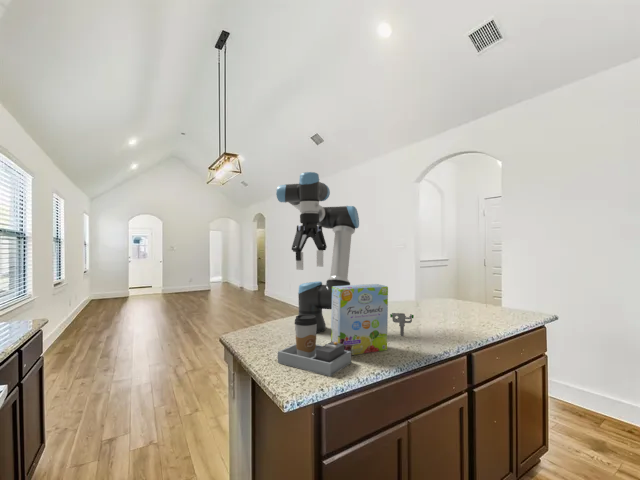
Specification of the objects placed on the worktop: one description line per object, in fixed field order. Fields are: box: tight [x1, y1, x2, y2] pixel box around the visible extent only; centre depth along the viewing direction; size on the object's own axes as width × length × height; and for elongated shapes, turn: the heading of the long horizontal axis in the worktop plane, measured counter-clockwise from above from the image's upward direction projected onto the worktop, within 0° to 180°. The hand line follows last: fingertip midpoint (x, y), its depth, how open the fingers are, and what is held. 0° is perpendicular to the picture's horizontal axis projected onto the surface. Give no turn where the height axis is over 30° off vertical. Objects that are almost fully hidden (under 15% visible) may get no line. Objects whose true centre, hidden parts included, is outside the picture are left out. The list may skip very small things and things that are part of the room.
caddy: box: [277, 343, 352, 377], centre depth 115 cm, size 22×14×4 cm, turn 57°
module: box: [316, 341, 344, 363], centre depth 111 cm, size 5×10×7 cm, turn 147°
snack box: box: [330, 283, 389, 356], centre depth 127 cm, size 22×9×26 cm, turn 113°
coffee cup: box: [294, 315, 317, 358], centre depth 117 cm, size 8×8×15 cm
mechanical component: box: [389, 312, 414, 337], centre depth 147 cm, size 3×10×10 cm, turn 79°
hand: (310, 268), depth 125 cm, fingers open, 13 cm apart
